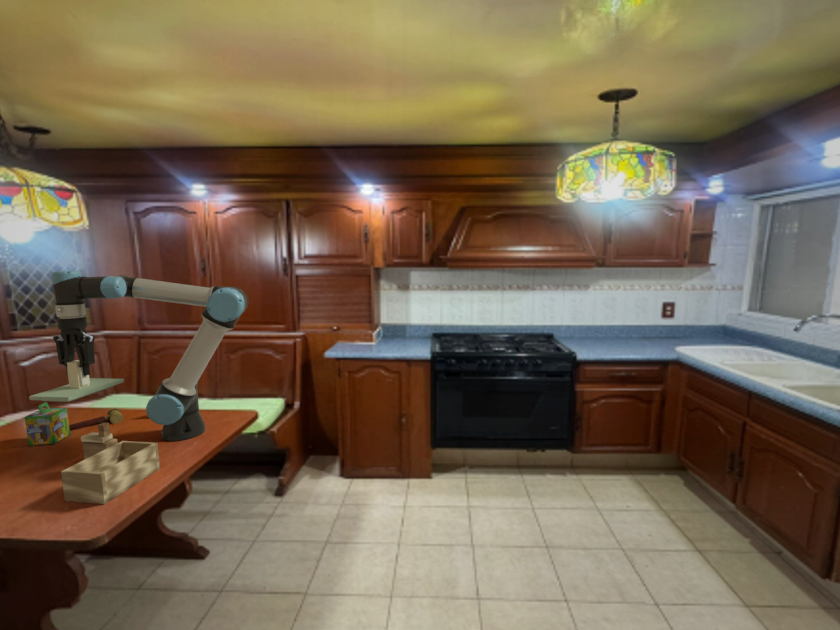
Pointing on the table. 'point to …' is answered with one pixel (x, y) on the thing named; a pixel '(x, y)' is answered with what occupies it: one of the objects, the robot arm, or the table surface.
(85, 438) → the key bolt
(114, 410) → the gavel
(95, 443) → the tan open box
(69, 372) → the lid
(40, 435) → the chalk box
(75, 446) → the table surface
